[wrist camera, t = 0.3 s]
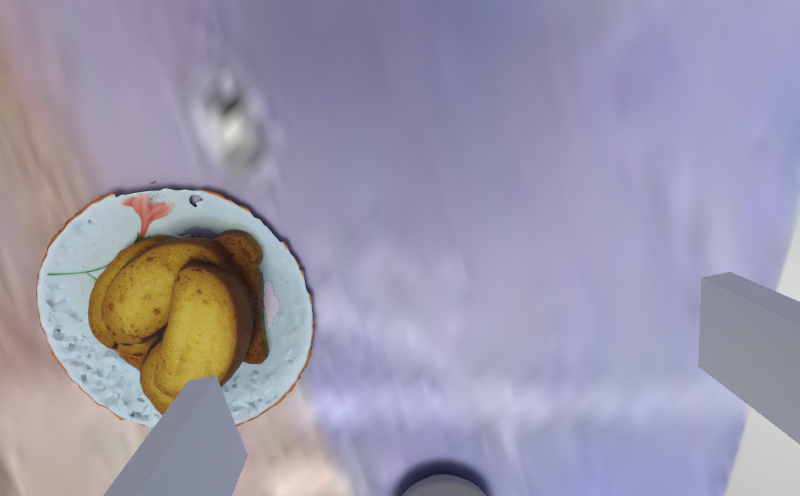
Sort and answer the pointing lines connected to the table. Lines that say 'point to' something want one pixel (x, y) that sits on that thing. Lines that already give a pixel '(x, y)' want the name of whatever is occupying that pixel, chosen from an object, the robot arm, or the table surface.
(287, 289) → the food on plate
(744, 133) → the table surface
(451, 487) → the coffee pot
